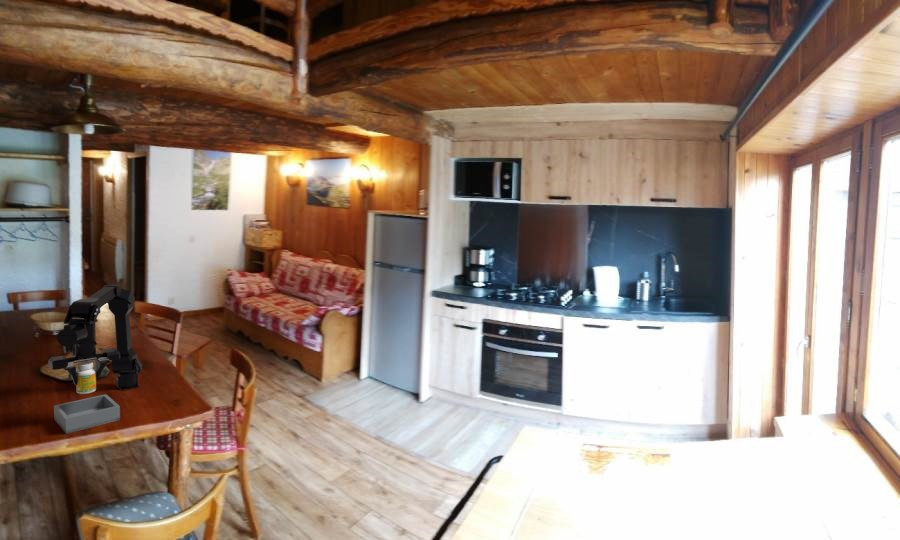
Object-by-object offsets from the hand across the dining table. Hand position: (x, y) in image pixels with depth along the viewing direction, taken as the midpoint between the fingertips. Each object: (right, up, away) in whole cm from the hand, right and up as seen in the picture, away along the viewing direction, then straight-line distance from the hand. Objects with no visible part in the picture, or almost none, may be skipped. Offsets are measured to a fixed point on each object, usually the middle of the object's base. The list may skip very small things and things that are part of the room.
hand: (86, 382), depth 164 cm
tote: (-1, -13, +2) cm, 13 cm away
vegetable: (-26, -7, +36) cm, 45 cm away
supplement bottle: (0, -3, 0) cm, 3 cm away
